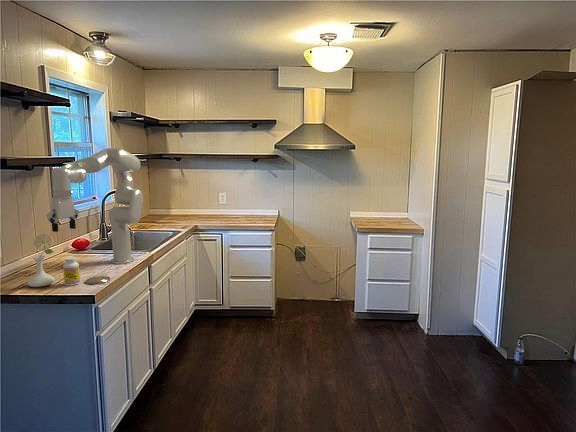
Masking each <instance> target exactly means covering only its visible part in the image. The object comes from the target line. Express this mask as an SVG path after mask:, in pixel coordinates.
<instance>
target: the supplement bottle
mask: <svg viewBox="0 0 576 432" xmlns="http://www.w3.org/2000/svg"><path fill="white" fill-rule="evenodd" d="M64 262H65V263H64V264H63V266H62V269H63V281H64V283H63V284H64V285H65V286H68V287H70V286H71V287H72V286H73V287H74V286H77V285H79V284H80V283H81V276H80V264H79V263H78V262H77V257H76V256H68V257H65V258H64Z"/></svg>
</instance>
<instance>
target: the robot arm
mask: <svg viewBox="0 0 576 432" xmlns="http://www.w3.org/2000/svg"><path fill="white" fill-rule="evenodd" d="M109 166H111V168H112V170H113V171H114V173H115V175H116V177H117V181H116V187H115V193H114V202H115V203H116V204H118V205H122V206H113V207H112V208H111V209H110V210H109V211H108V220H109V225H110V228H111V230H110V231H111V242H112V244H111V245H112V257H113V258H112V259H110V263H111V264H114V265H123V264H124V265H125V264H128V263H132V262H134V261H135V258H134V257H133V256H132V254H133V251H132V250H131V234H130V232H131V231H130V228H129V225H137V224H138V223H139V221H140V219H141V216H142V210H143V203H144V195H143V192H142V191H141V190H140V189H139V188H134V178H133V175H132V173H134V172H138V171H139V170H140V168H141V160H140V159H139V157H137V156H136V155H134V154H132V153H130V152H128V151H127V150H125V149H123V148H121V147H120V148H119V147H118V148H115V147H114V148H113V147H111V148H110V147H108V148H104V149H101V150H100V151H98V152H96V153H94V154H92V155H90V156H87V157H85V158H81V159H77V160H75V161H71V162H68V163H66V164H64V165H62V166H61V167H54V168H53V169H52V170H51V177H52V178H51V179H52V180H51V181H52V196H53V197H51V201H50V211H49V212H48V213H47V214H46V218H47V221H48V222H50V224H51V231H52V232H53V233H59V223H58V222H59V220H62V219H69V229H72V230H76V228H77V227H76V221H77V218H78V217H79V214H80V211H79V210H78V209H76V208H75V203H74V199H73V196H72V194H73V191H72V184H81V183H85V181H86V180H87V179H88V175H89V174H95V173H98V172H101V171H102V170H104V169H105V168H107V167H109Z"/></svg>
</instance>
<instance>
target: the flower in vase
mask: <svg viewBox="0 0 576 432" xmlns="http://www.w3.org/2000/svg"><path fill="white" fill-rule="evenodd" d="M54 242H55V240H54V237H52V235H51V234H49V233H42V234H39V235H37V236H35V238H34V239H33V245H34V247H35V249H38V250H42V252H41V253H40V252H38V251H34V250H31V251H32V252H34V253H36V254H40V255H35V256H33V257H32V259H33V260H34V261H35V262H36V263H35V264H36V267H37V269H36V273H35V274H34V275H33V276H32V277H31V278H30V279H28V281H27V283H26V284H27V286H29V287H34V288H40V287H45V286H49V285H51V284H53V283H54V282H55V280H56V279H55V277H53V276H52V275H50V274H49V273H47V272H45V271H44V267H43V266H44V265H43V263H44V260H45V258H46V256H45V255H43V253H45V254H46V255H50V254H53V253H55V251H54V250H52V249H51V247H52V246H53V244H54Z"/></svg>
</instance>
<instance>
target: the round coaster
mask: <svg viewBox="0 0 576 432" xmlns="http://www.w3.org/2000/svg"><path fill="white" fill-rule="evenodd" d="M108 281H109V282H110V281H111V277H109V276H105V275H104V276H103V275H100V276H99V275H98V276H92V277H89V278H86V280H85V284H87V285H89V284H90V286H92V285H93V284H98V285H103V284H107V283H109V282H108ZM106 282H107V283H106ZM102 283H103V284H102Z"/></svg>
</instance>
